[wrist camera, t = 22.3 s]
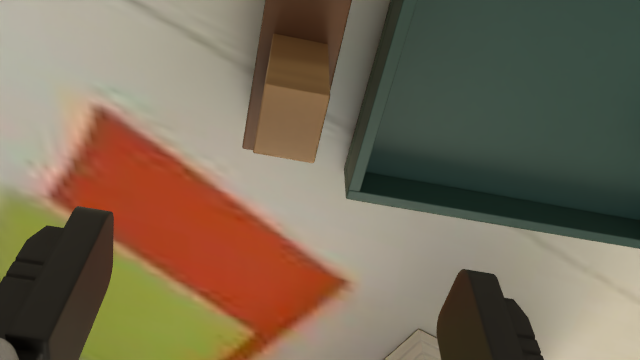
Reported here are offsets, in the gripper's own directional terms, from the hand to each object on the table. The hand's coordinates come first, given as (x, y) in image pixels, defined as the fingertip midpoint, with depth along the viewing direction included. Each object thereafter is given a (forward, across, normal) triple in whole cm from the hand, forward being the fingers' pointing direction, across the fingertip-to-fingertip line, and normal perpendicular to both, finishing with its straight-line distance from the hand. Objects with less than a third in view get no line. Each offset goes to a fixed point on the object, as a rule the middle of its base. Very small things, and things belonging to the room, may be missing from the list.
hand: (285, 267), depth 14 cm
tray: (+17, -13, +2) cm, 22 cm away
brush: (+17, 0, +2) cm, 17 cm away
